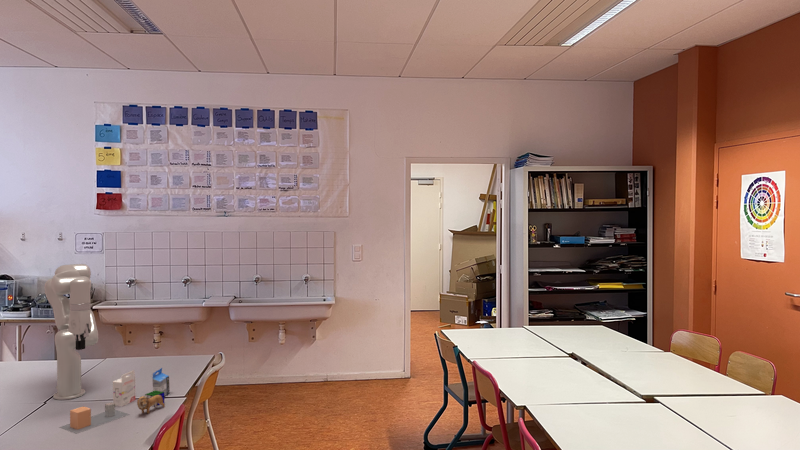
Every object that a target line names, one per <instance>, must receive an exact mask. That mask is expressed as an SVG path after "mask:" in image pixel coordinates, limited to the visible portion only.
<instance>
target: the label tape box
mask: <svg viewBox="0 0 800 450" xmlns="http://www.w3.org/2000/svg"><path fill="white" fill-rule="evenodd" d="M162 371H163V367H160V368H159V369H158V370H156V371H154V372H153V373H152V392H153V391H155V390H156V391H161V392H164V397H165V396H167V395H168V394H170V392H171V391H170V375H168V374H166V373H164V372H162Z"/></svg>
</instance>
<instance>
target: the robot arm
mask: <svg viewBox="0 0 800 450" xmlns="http://www.w3.org/2000/svg"><path fill="white" fill-rule="evenodd" d="M91 275H92V273H91V268H90V266H89V265H87V264H84V263H76V264H63V265H60V266H58V267H56V269H55V271H54V275H53V276H52V278H50V279H47V280H46V281H45V284H44V293H45V297H46V300H48V303H49V305H50V306H51V308H52V312H53V317H54V322H55V326H56V328H57V330H59V331H57V332H56V333H55V335H54V344H55V349H56V350H55V351H56V371H57V372H56V377H57V378H56V382H57V386H55V389H56V391H57V392H56V393H54V394H53V399H54V400H57V401H58V400H59V401H62V400H63V401H64V400H72V399H76V398H79V397H81V396H84V395H85V394H86V390H85V389H83V388H82V357H81V356H82V355H80V353H79V352H78V351H80V350H81V351H82V350H85V349H86V348H87V347H92V346H94V345H96V344H97V343H98V342H99V331H98V327H97V322H96V318H95V314H94V312H93V310H92V309H91V288H92V280H91ZM65 295H69V298H68V297H67V296H65Z"/></svg>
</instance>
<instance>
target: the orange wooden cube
mask: <svg viewBox="0 0 800 450" xmlns="http://www.w3.org/2000/svg"><path fill="white" fill-rule="evenodd" d="M91 412H92V409H91V408H90V407H87V406H81V407H80V406H79V407H77V408H73V409H70V410H69V422H70V423H69V424H70V427H72V428H74V429H77V430H78V429H81V428H84V427H86V426H89V425H91V416H92V413H91Z"/></svg>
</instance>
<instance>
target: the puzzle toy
mask: <svg viewBox="0 0 800 450" xmlns="http://www.w3.org/2000/svg"><path fill="white" fill-rule="evenodd" d="M155 395H161V396H162V398H163V403H164V404H165V396H164V392H161V391H156V390H155V391H153V390H152V391H150V392H148V393H145V394H144V396H145V397H147V398H152V397H153V396H155ZM157 406H161V405H160V404H159V403H157ZM151 407H152V408H154V407H155V405H153V406H151Z"/></svg>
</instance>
